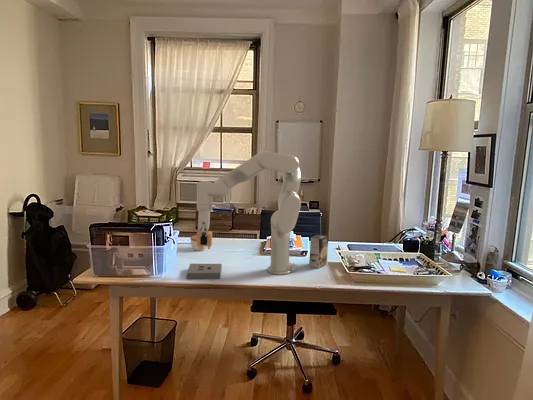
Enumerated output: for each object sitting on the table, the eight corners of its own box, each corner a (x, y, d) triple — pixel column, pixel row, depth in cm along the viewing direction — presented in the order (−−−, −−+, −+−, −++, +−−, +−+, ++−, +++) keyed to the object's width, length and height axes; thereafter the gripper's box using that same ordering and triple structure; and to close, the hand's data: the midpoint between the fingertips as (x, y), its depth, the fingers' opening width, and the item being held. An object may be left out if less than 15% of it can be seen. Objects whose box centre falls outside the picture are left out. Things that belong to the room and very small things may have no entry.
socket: (221, 269, 204) (221, 263, 203) (220, 279, 190) (220, 273, 190) (190, 269, 203) (190, 263, 202) (186, 278, 189) (186, 273, 189)
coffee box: (319, 268, 208) (320, 239, 206) (308, 266, 212) (310, 237, 209) (327, 264, 216) (328, 236, 213) (316, 262, 220) (318, 234, 217)
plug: (212, 246, 197) (212, 231, 196) (211, 250, 192) (211, 234, 190) (197, 246, 197) (198, 231, 196) (196, 250, 191) (196, 234, 190)
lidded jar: (187, 251, 233) (187, 235, 232) (194, 246, 244) (194, 231, 242) (204, 252, 231) (204, 237, 230) (211, 247, 241) (211, 233, 240)
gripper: (198, 203, 199) (198, 238, 202) (194, 210, 182) (194, 247, 185) (213, 203, 200) (213, 238, 203) (211, 210, 183) (210, 247, 186)
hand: (204, 242), depth 194 cm, fingers closed on plug, 6 cm apart
